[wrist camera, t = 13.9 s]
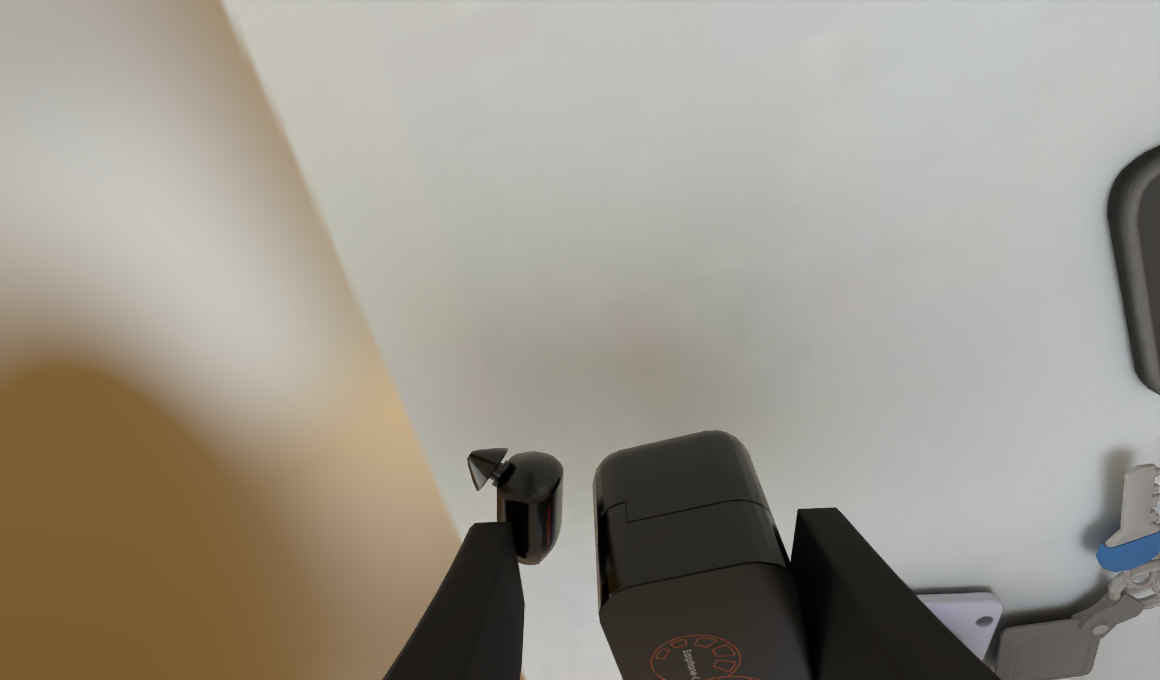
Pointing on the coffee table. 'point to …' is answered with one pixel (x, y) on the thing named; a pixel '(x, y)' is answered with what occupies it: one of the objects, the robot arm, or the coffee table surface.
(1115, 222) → the smartphone
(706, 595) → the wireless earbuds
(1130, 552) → the key chain
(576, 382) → the coffee table surface
